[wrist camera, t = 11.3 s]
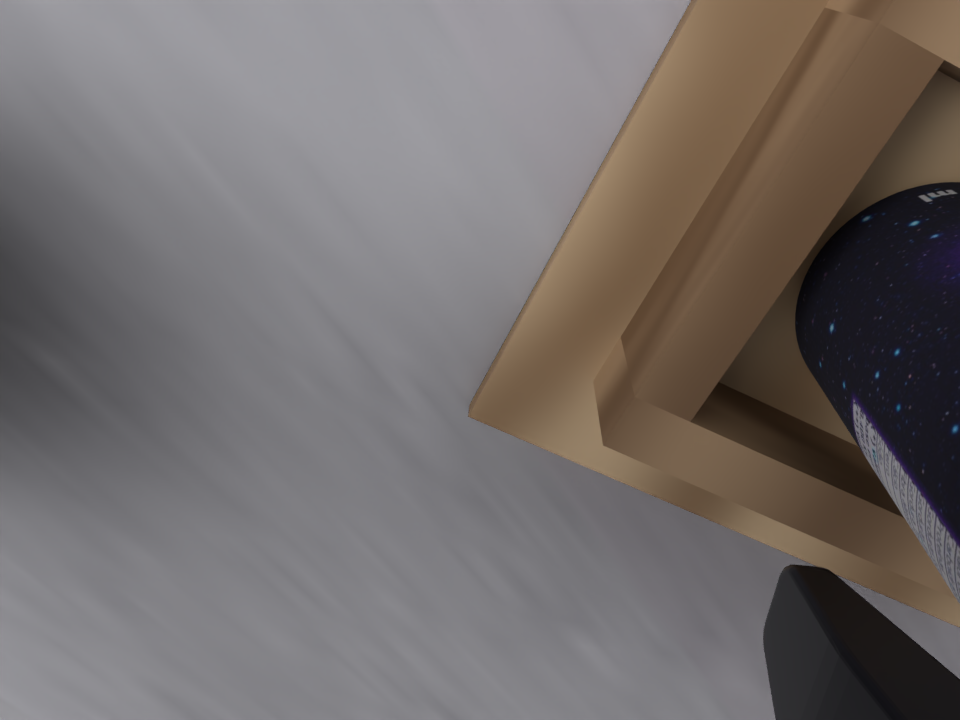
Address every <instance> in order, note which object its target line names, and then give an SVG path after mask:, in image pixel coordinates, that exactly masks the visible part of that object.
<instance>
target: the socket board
mask: <svg viewBox="0 0 960 720" xmlns="http://www.w3.org/2000/svg"><path fill="white" fill-rule="evenodd" d="M943 182H960V0H691V2H690V4H689V6H688V8H687V9H686V11H685V13H684V15H683V17H682V18H681V20H680V22H679V24H678V26H677V28H676V29H675V31H674V33H673V35H672V37H671V39H670V40H669V42H668V44H667V46H666V48H665V49H664V51H663V53H662V55H661V57H660V59H659V60H658V62H657V64H656V66H655V68H654V70H653V71H652V73H651V75H650V77H649V79H648V80H647V82H646V84H645V86H644V88H643V90H642V91H641V93H640V95H639V97H638V99H637V101H636V102H635V104H634V106H633V108H632V110H631V111H630V113H629V115H628V117H627V119H626V121H625V122H624V124H623V126H622V128H621V130H620V132H619V133H618V135H617V137H616V139H615V141H614V142H613V144H612V146H611V148H610V150H609V152H608V153H607V155H606V157H605V159H604V161H603V163H602V164H601V166H600V168H599V170H598V172H597V173H596V175H595V177H594V179H593V181H592V183H591V184H590V186H589V188H588V190H587V192H586V194H585V195H584V197H583V199H582V201H581V203H580V204H579V206H578V208H577V210H576V212H575V214H574V215H573V217H572V219H571V221H570V223H569V225H568V226H567V228H566V230H565V232H564V234H563V235H562V237H561V239H560V241H559V243H558V245H557V246H556V248H555V250H554V252H553V254H552V256H551V257H550V259H549V261H548V263H547V265H546V267H545V268H544V270H543V272H542V274H541V276H540V277H539V279H538V281H537V283H536V285H535V287H534V288H533V290H532V292H531V294H530V296H529V298H528V299H527V301H526V303H525V305H524V307H523V308H522V310H521V312H520V314H519V316H518V318H517V319H516V321H515V323H514V325H513V327H512V329H511V330H510V332H509V334H508V336H507V338H506V339H505V341H504V343H503V345H502V347H501V349H500V350H499V352H498V354H497V356H496V358H495V360H494V361H493V363H492V365H491V367H490V369H489V370H488V372H487V374H486V376H485V378H484V380H483V381H482V383H481V385H480V387H479V389H478V391H477V392H476V394H475V396H474V398H473V400H472V401H471V403H470V406H469V415H468V417H470V418H473V419H475V420H477V421H480V422H482V423H484V424H487V425H489V426H491V427H494V428H496V429H498V430H501V431H503V432H505V433H508V434H510V435H512V436H515V437H517V438H519V439H522V440H524V441H526V442H529V443H531V444H533V445H536V446H538V447H540V448H543V449H545V450H547V451H550V452H552V453H554V454H557V455H559V456H561V457H564V458H566V459H568V460H571V461H573V462H575V463H578V464H580V465H582V466H585V467H587V468H589V469H592V470H594V471H596V472H599V473H601V474H603V475H606V476H608V477H610V478H613V479H615V480H617V481H620V482H622V483H624V484H627V485H629V486H631V487H634V488H636V489H638V490H640V491H643V492H645V493H647V494H650V495H652V496H654V497H657V498H659V499H661V500H664V501H666V502H668V503H671V504H673V505H675V506H678V507H680V508H682V509H685V510H687V511H689V512H692V513H694V514H696V515H699V516H701V517H703V518H706V519H708V520H710V521H713V522H715V523H717V524H720V525H722V526H724V527H727V528H729V529H731V530H734V531H736V532H738V533H741V534H743V535H745V536H748V537H750V538H752V539H755V540H757V541H759V542H762V543H764V544H766V545H769V546H771V547H773V548H776V549H778V550H780V551H783V552H785V553H787V554H790V555H792V556H794V557H797V558H799V559H801V560H804V561H806V562H808V563H811V564H813V565H815V566H817V567H822V568H826V569H828V570H830V571H831V572H833V573H834V574H836V575H838V576H841V577H843V578H845V579H848V580H850V581H852V582H855V583H857V584H859V585H862V586H864V587H866V588H869V589H871V590H873V591H876V592H878V593H880V594H883V595H885V596H887V597H890V598H892V599H894V600H897V601H899V602H901V603H904V604H906V605H908V606H911V607H913V608H915V609H918V610H920V611H922V612H925V613H927V614H929V615H932V616H934V617H936V618H939V619H941V620H943V621H946V622H948V623H950V624H953V625H955V626H957V627H960V604H959V602H958V601H957V599H956V598H955V596H954V595H953V593H952V591H951V590H950V588H949V587H948V585H947V584H946V582H945V581H944V579H943V577H942V576H941V574H940V573H939V571H938V570H937V568H936V567H935V565H934V563H933V562H932V560H931V559H930V557H929V556H928V554H927V552H926V551H925V549H924V548H923V546H922V545H921V543H920V542H919V540H918V538H917V537H916V535H915V534H914V532H913V531H912V529H911V528H910V526H909V524H908V523H907V521H906V520H905V518H904V517H903V515H902V514H901V512H900V510H899V509H898V507H897V506H896V504H895V503H894V501H893V499H892V498H891V496H890V495H889V493H888V492H887V490H886V489H885V487H884V485H883V484H882V482H881V481H880V479H879V478H878V476H877V475H876V473H875V471H874V470H873V468H872V467H871V465H870V464H869V462H868V461H867V459H866V457H865V456H864V454H863V453H862V451H861V450H860V448H859V446H858V445H857V443H856V442H855V440H854V439H853V437H852V436H851V434H850V432H849V431H848V429H847V428H846V426H845V425H844V423H843V422H842V420H841V418H840V417H839V415H838V414H837V412H836V411H835V409H834V408H833V406H832V404H831V403H830V401H829V400H828V398H827V397H826V395H825V393H824V392H823V390H822V389H821V387H820V386H819V384H818V383H817V381H816V379H815V378H814V376H813V375H812V373H811V372H810V370H809V368H808V367H807V365H806V363H805V361H804V359H803V357H802V355H801V352H800V349H799V346H798V342H797V337H796V330H795V312H796V304H797V299H798V295H799V292H800V288H801V285H802V283H803V280H804V278H805V275H806V273H807V271H808V269H809V267H810V266H811V264H812V262H813V260H814V259H815V257H816V256H817V254H818V253H819V251H820V250H821V249H822V247H823V246H824V245H825V243H826V242H827V241H828V240H829V239H830V238H831V237H832V236H833V235H834V234H835V233H836V232H837V231H838V230H839V229H840V228H841V227H842V226H843V225H844V224H845V223H846V222H848V221H849V220H850V219H851V218H853V217H854V216H855V215H857V214H858V213H859V212H861V211H862V210H864V209H865V208H867V207H869V206H870V205H872V204H874V203H876V202H878V201H880V200H882V199H884V198H886V197H888V196H890V195H893V194H895V193H898V192H901V191H903V190H906V189H910V188H914V187H917V186H922V185H927V184H933V183H943Z"/></svg>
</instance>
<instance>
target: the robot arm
mask: <svg viewBox="0 0 960 720" xmlns="http://www.w3.org/2000/svg"><path fill="white" fill-rule="evenodd" d="M763 642H764V652H765V658H766V664H767V670H768V676H769V682H770V688H771V694H772V700H773V706H774V713H775V719H776V720H960V679H959V678H957V677H956V676H955V675H954V674H953V673H952V672H950V671H949V670H948V669H947V668H946V667H944V666H943V665H942V664H941V663H940V662H938V661H937V660H936V659H935V658H934V657H933V656H931V655H930V654H929V653H928V652H927V651H925V650H924V649H923V648H922V647H921V646H920V645H918V644H917V643H916V642H915V641H914V640H912V639H911V638H910V637H909V636H908V635H906V634H905V633H904V632H903V631H902V630H901V629H899V628H898V627H897V626H896V625H895V624H893V623H892V622H891V621H890V620H889V619H887V618H886V617H885V616H884V615H883V614H882V613H880V612H879V611H878V610H877V609H876V608H874V607H873V606H872V605H871V604H870V603H869V602H867V601H866V600H865V599H864V598H863V597H861V596H860V595H859V594H858V593H857V592H855V591H854V590H853V589H852V588H851V587H850V586H848V585H847V584H846V583H845V582H844V581H842V580H841V579H840V578H839V577H838V576H836V575H835V574H834V573H833V572H831V571H830V570H828V569H826V568H822V567H813V566H802V565H789V566H787V567H785V568H784V570H783V571H782V573H781V574H780V577H779V580H778V583H777V586H776V590H775V593H774V596H773V599H772V602H771V606H770V609H769V612H768V615H767V618H766V622H765V626H764V635H763Z"/></svg>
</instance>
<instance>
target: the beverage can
mask: <svg viewBox="0 0 960 720" xmlns="http://www.w3.org/2000/svg"><path fill="white" fill-rule="evenodd" d="M795 330H796V337H797V342H798V346H799V349H800V352H801V355H802V357H803V359H804V361H805V363H806V365H807V367H808V368H809V370H810V372H811V373H812V375H813V376H814V378H815V379H816V381H817V383H818V384H819V386H820V387H821V389H822V390H823V392H824V393H825V395H826V397H827V398H828V400H829V401H830V403H831V404H832V406H833V408H834V409H835V411H836V412H837V414H838V415H839V417H840V418H841V420H842V422H843V423H844V425H845V426H846V428H847V429H848V431H849V432H850V434H851V436H852V437H853V439H854V440H855V442H856V443H857V445H858V446H859V448H860V450H861V451H862V453H863V454H864V456H865V457H866V459H867V461H868V462H869V464H870V465H871V467H872V468H873V470H874V471H875V473H876V475H877V476H878V478H879V479H880V481H881V482H882V484H883V485H884V487H885V489H886V490H887V492H888V493H889V495H890V496H891V498H892V499H893V501H894V503H895V504H896V506H897V507H898V509H899V510H900V512H901V514H902V515H903V517H904V518H905V520H906V521H907V523H908V524H909V526H910V528H911V529H912V531H913V532H914V534H915V535H916V537H917V538H918V540H919V542H920V543H921V545H922V546H923V548H924V549H925V551H926V552H927V554H928V556H929V557H930V559H931V560H932V562H933V563H934V565H935V567H936V568H937V570H938V571H939V573H940V574H941V576H942V577H943V579H944V581H945V582H946V584H947V585H948V587H949V588H950V590H951V591H952V593H953V595H954V596H955V598H956V599H957V601H958V602H959V604H960V182H943V183H933V184H927V185H922V186H917V187H914V188H910V189H906V190H903V191H901V192H898V193H895V194H893V195H890V196H888V197H886V198H884V199H882V200H880V201H878V202H876V203H874V204H872V205H870V206H869V207H867V208H865V209H864V210H862V211H861V212H859V213H858V214H857V215H855V216H854V217H853V218H851V219H850V220H849V221H848V222H846V223H845V224H844V225H843V226H842V227H841V228H840V229H839V230H838V231H837V232H836V233H835V234H834V235H833V236H832V237H831V238H830V239H829V240H828V241H827V242H826V243H825V245H824V246H823V247H822V249H821V250H820V251H819V253H818V254H817V256H816V257H815V259H814V260H813V262H812V264H811V266H810V267H809V269H808V271H807V273H806V275H805V278H804V280H803V283H802V285H801V288H800V292H799V295H798V299H797V304H796V312H795Z"/></svg>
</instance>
